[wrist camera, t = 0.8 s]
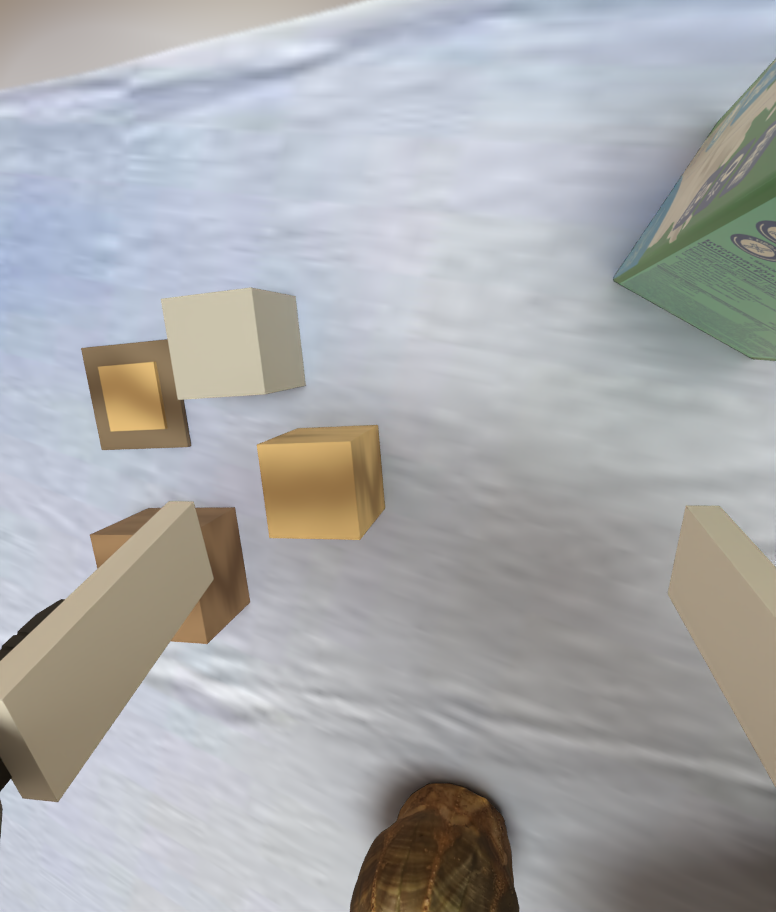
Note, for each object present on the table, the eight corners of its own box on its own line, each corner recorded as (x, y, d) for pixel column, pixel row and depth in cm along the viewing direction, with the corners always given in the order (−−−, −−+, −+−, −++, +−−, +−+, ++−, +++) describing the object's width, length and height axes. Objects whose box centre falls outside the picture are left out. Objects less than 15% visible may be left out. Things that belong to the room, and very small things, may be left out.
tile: (191, 445, 38) (185, 447, 38) (105, 449, 40) (98, 450, 40) (173, 339, 37) (167, 339, 36) (85, 348, 39) (77, 348, 38)
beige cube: (306, 385, 35) (265, 394, 29) (230, 390, 36) (177, 399, 31) (296, 296, 34) (251, 287, 28) (218, 305, 35) (160, 298, 30)
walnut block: (250, 601, 40) (207, 643, 35) (166, 597, 42) (112, 637, 37) (236, 506, 39) (187, 535, 33) (149, 507, 41) (90, 534, 35)
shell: (451, 735, 38) (424, 902, 27) (548, 842, 38) (560, 1054, 27) (355, 794, 42) (295, 962, 30) (443, 891, 42) (415, 1096, 30)
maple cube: (385, 508, 36) (359, 539, 30) (307, 507, 37) (269, 538, 31) (378, 424, 34) (350, 441, 29) (298, 428, 36) (256, 444, 30)
